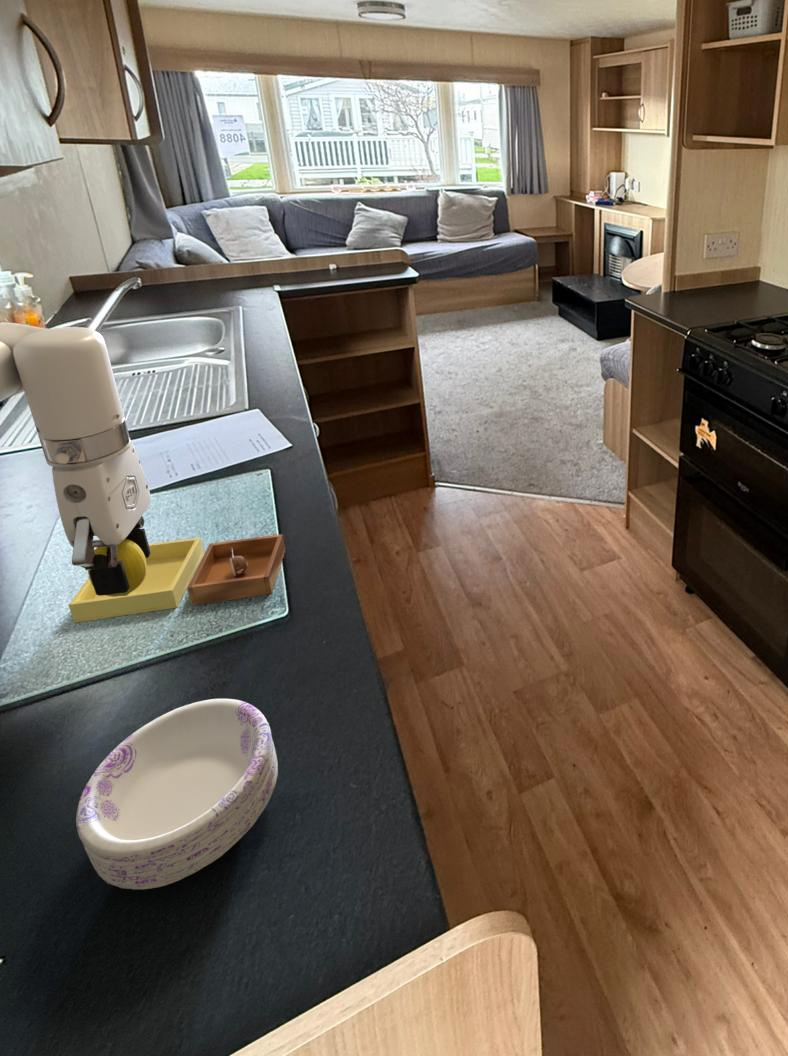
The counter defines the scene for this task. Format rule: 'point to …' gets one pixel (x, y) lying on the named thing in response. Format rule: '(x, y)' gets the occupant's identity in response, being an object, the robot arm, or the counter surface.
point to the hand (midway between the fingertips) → (124, 573)
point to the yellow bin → (145, 584)
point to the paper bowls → (177, 793)
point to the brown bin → (218, 577)
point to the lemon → (128, 563)
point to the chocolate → (238, 564)
